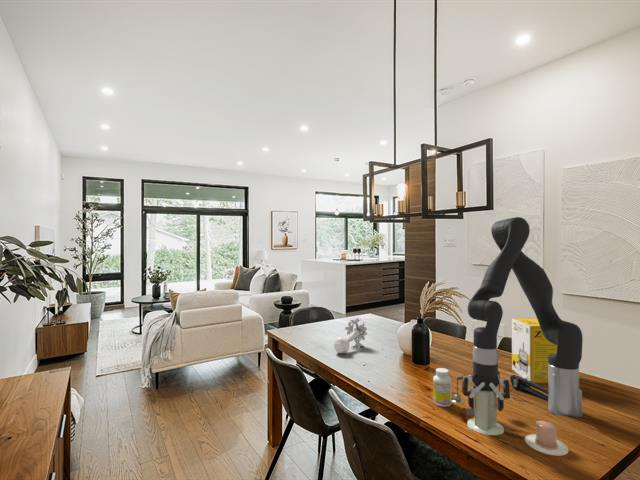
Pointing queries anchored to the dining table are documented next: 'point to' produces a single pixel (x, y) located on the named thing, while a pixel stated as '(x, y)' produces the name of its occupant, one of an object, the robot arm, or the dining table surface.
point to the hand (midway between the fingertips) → (485, 409)
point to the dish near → (559, 451)
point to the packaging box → (530, 350)
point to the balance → (460, 401)
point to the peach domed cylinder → (546, 435)
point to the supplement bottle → (442, 388)
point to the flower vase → (350, 337)
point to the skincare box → (486, 409)
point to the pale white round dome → (493, 431)
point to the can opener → (528, 386)
